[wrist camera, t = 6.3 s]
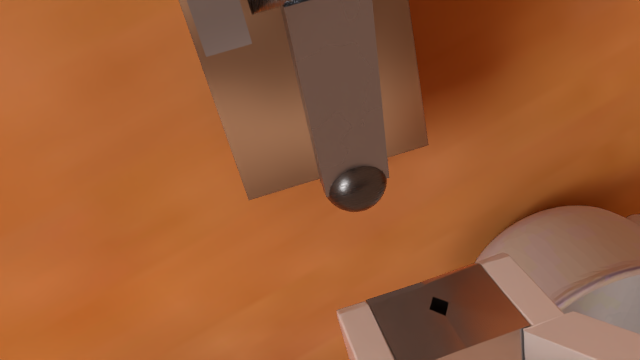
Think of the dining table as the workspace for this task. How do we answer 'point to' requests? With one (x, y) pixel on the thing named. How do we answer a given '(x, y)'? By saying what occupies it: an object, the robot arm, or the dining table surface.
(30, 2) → the dining table surface
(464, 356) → the robot arm
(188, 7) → the brown lever base
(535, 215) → the teacup
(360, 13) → the lever
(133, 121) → the dining table surface
